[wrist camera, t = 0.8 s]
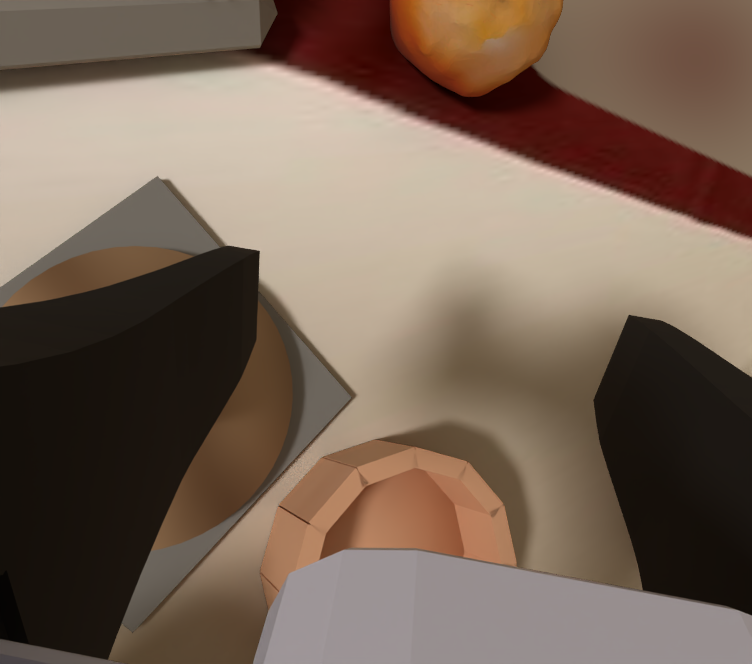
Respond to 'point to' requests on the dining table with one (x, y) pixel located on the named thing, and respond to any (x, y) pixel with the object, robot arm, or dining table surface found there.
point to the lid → (238, 418)
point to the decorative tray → (126, 29)
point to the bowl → (385, 510)
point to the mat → (309, 376)
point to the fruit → (473, 39)
